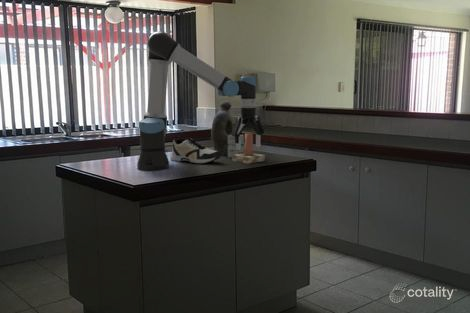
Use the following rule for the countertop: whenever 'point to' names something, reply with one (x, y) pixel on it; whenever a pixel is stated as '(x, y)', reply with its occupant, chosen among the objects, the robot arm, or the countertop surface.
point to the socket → (248, 158)
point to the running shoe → (192, 152)
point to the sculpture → (222, 128)
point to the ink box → (234, 146)
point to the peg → (249, 144)
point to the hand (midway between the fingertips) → (248, 148)
